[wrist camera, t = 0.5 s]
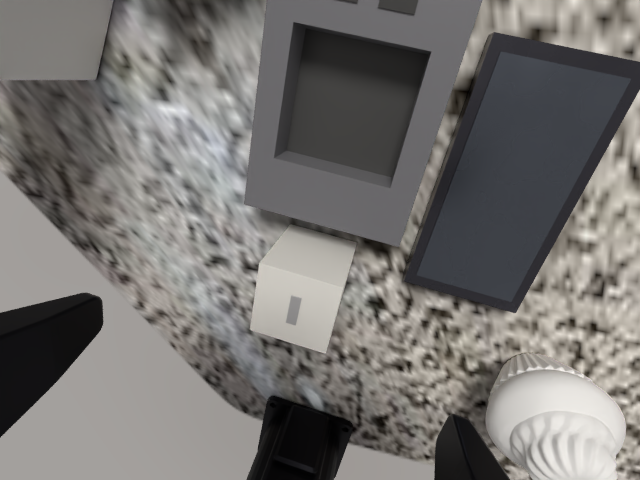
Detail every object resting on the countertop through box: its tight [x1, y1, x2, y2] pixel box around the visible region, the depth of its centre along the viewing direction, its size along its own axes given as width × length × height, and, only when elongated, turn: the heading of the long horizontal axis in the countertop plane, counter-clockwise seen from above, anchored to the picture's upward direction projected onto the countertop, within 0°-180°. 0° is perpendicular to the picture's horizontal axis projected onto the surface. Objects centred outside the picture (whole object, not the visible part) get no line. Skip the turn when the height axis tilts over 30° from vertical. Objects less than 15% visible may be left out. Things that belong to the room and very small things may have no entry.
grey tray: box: [244, 0, 482, 247], centre depth 16 cm, size 11×8×2 cm
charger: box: [250, 224, 357, 354], centre depth 19 cm, size 4×4×5 cm
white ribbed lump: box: [485, 352, 626, 480], centre depth 18 cm, size 6×6×7 cm
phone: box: [404, 32, 640, 313], centre depth 17 cm, size 12×6×1 cm, turn 168°
